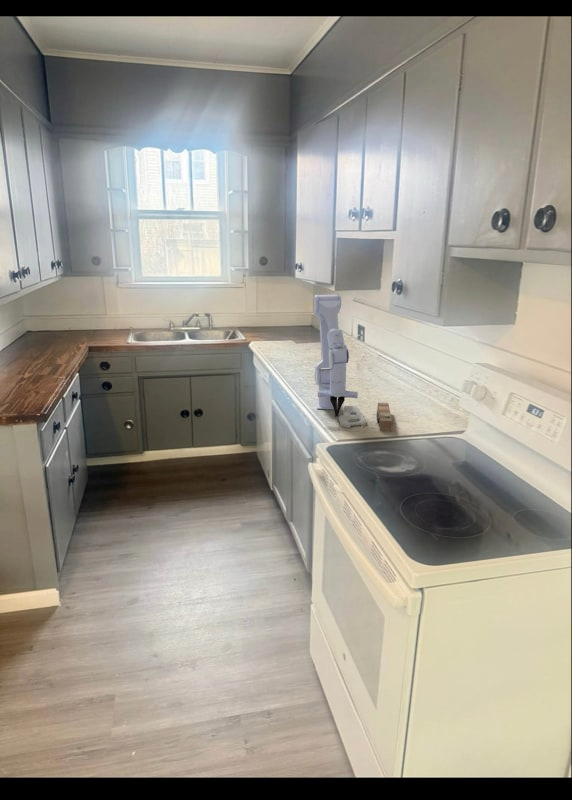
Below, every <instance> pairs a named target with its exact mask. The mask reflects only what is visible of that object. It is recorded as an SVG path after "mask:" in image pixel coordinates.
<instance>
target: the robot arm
mask: <svg viewBox="0 0 572 800" xmlns="http://www.w3.org/2000/svg"><path fill="white" fill-rule="evenodd" d="M341 308H342V298H341V295H340V294H338V293H337V294H315V295H314V296H313V314H314V317H315V318H316V319H318V322H319V339H320V357H321V360H320V361H319V362H318V363H317V364H316V365H315V367H314V381H315V384H316V385H317V386H318V390H317V398H318V401H317V406H316V409H317V410H334V411H333V412H334V417H335V418H336V417H337V418H339V417H340V412H341V408H342V406H343V405H344V403H345V399H346V398H349V399H353V398H354V399H358V394H359V392H358V391H350V390H346V387H347V364H348V363H349V360H350V355H349V348H348V346H347V345H345V339H344V333H343V331H342V330H340V328H339V318H338V314H339V313H340V310H341Z"/></svg>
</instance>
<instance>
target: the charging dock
mask: <svg viewBox="0 0 572 800" xmlns="http://www.w3.org/2000/svg"><path fill="white" fill-rule="evenodd" d="M376 424H378V427H379V431H380V432H392V429H393V428H392V426H393V418H392V413H391V408H390V404H389V402H377V410H376Z"/></svg>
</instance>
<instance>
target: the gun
mask: <svg viewBox="0 0 572 800" xmlns="http://www.w3.org/2000/svg"><path fill="white" fill-rule="evenodd" d="M342 413H343V414H341V415H339V417H338V421H339V423H340V426H341V427H342V428H346V429H350V428H351V427H352V426H361V428H362V427H365V426H367V425H368V421H367V419H366V415H363V413H362V412H361V408H360V407H358V406H357V405H343V410H342Z"/></svg>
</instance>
